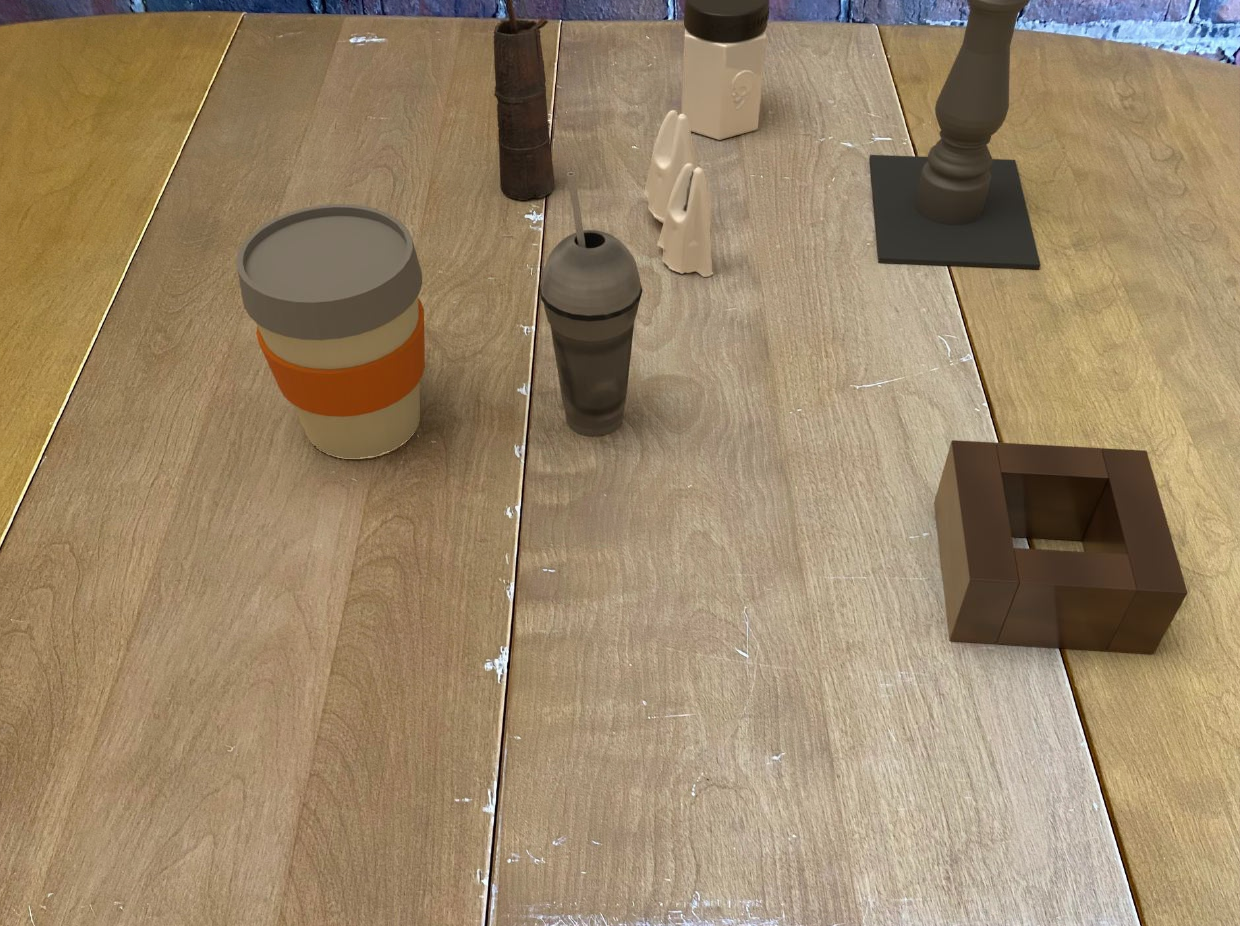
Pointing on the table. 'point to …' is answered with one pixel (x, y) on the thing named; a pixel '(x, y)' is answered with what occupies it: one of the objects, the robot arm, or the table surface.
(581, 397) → the beverage cup
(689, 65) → the jar
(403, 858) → the table surface
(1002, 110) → the candle holder
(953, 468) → the holder
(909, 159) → the mat
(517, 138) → the butter churn
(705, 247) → the shaker set
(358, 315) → the reusable coffee cup
